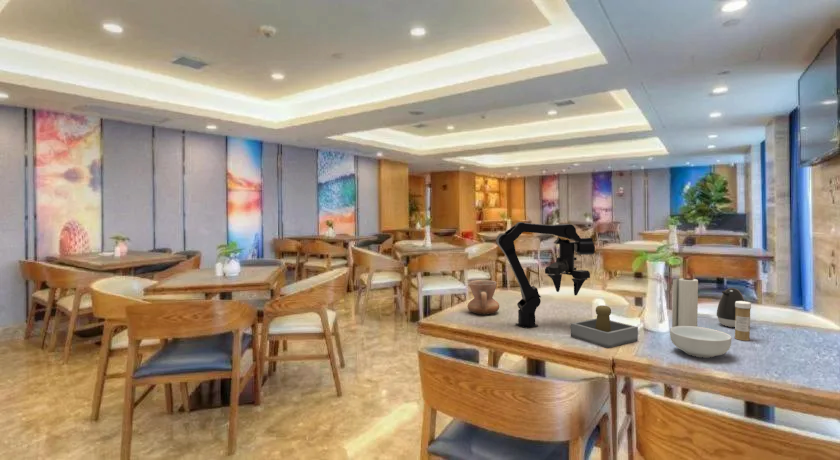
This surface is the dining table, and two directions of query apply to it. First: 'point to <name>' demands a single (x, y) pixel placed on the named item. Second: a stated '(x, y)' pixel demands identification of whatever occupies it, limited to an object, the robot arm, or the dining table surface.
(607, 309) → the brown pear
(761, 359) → the dining table surface
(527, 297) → the robot arm
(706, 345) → the cereal bowl
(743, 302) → the sprinkles bottle
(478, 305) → the ceramic jug
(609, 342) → the tray
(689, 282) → the grey tall block
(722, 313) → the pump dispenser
